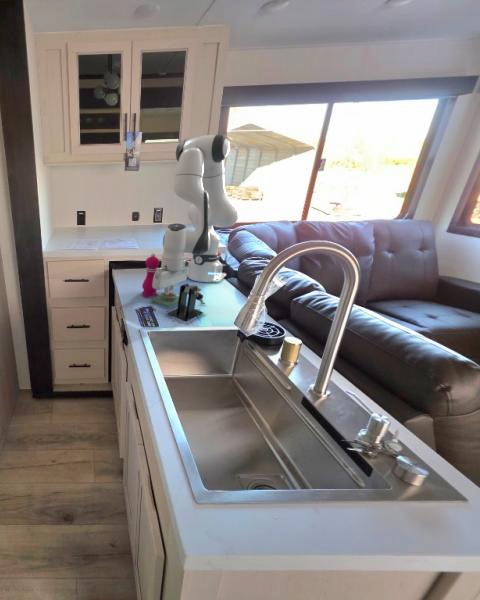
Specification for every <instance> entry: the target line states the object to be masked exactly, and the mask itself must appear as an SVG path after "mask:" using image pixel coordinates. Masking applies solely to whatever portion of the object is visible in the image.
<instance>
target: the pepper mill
mask: <svg viewBox="0 0 480 600" xmlns="http://www.w3.org/2000/svg"><path fill="white" fill-rule="evenodd" d="M159 265H160V260H159V258H158V257H156V253H151V254H150V256H149V257H147V258H146V259H145V266H146V267H145V268H146V269H145V270H146V276H145V279H144V280H143V282H142V287H141V288H142V289H143V290H142V296H143V297H145V298H151V297H154V296H157V290H156V289H154V288H153V287H152V283H153V278H154V274H155V272H156V271H157V270H158V268H159Z"/></svg>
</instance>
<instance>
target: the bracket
mask: <svg viewBox="0 0 480 600" xmlns="http://www.w3.org/2000/svg"><path fill="white" fill-rule="evenodd" d="M186 286H187V287H189V286H190V284H189V283H183V284H182V285H180V286H179V293H178V296H179V301H178V304H177V308H176V309H174V310H172V311H169V312H167V313H166V314H167V315H169V316H171V317H173V318H175V319H178V320H181V321H183V322H185V323H187V322H189V321H191V320H193V319H195V318H197V317H199V316H200V315H202V314H204V312H203V311H200V310H198V309H196V303H197V299H196V296H197V290H198V287H197V286H198V285H197V286H195V287H193V288H190V289H189V294H187V293H185V292H184V289H185V287H186ZM198 291H199V290H198Z"/></svg>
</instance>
